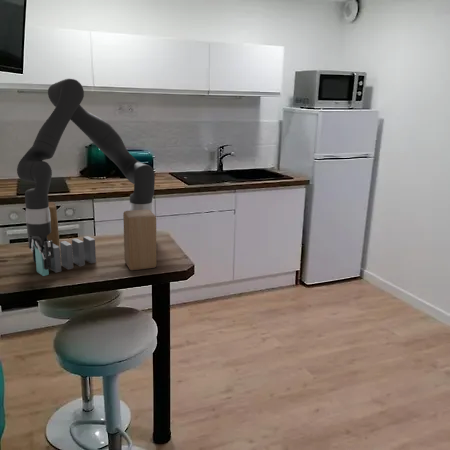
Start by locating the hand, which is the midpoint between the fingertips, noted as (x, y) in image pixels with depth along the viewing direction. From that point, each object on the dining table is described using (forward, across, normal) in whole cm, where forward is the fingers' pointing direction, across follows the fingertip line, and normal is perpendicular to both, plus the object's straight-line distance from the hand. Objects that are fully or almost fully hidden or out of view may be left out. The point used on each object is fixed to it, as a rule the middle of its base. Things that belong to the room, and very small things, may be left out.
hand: (42, 265), depth 155 cm
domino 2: (+3, 0, -4) cm, 5 cm away
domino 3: (+3, 0, -9) cm, 9 cm away
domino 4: (+3, 0, -14) cm, 14 cm away
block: (+3, +16, -10) cm, 19 cm away
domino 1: (+3, 0, 0) cm, 3 cm away
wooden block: (+3, -15, -30) cm, 34 cm away
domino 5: (+3, 0, -18) cm, 18 cm away
